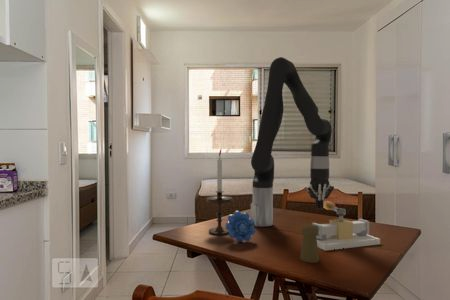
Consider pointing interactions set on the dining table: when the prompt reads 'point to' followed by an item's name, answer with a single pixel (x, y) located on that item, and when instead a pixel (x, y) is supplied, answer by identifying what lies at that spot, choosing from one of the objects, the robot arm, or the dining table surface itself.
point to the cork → (309, 244)
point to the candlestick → (219, 201)
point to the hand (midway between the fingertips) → (319, 209)
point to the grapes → (240, 226)
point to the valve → (344, 234)
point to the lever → (333, 208)
